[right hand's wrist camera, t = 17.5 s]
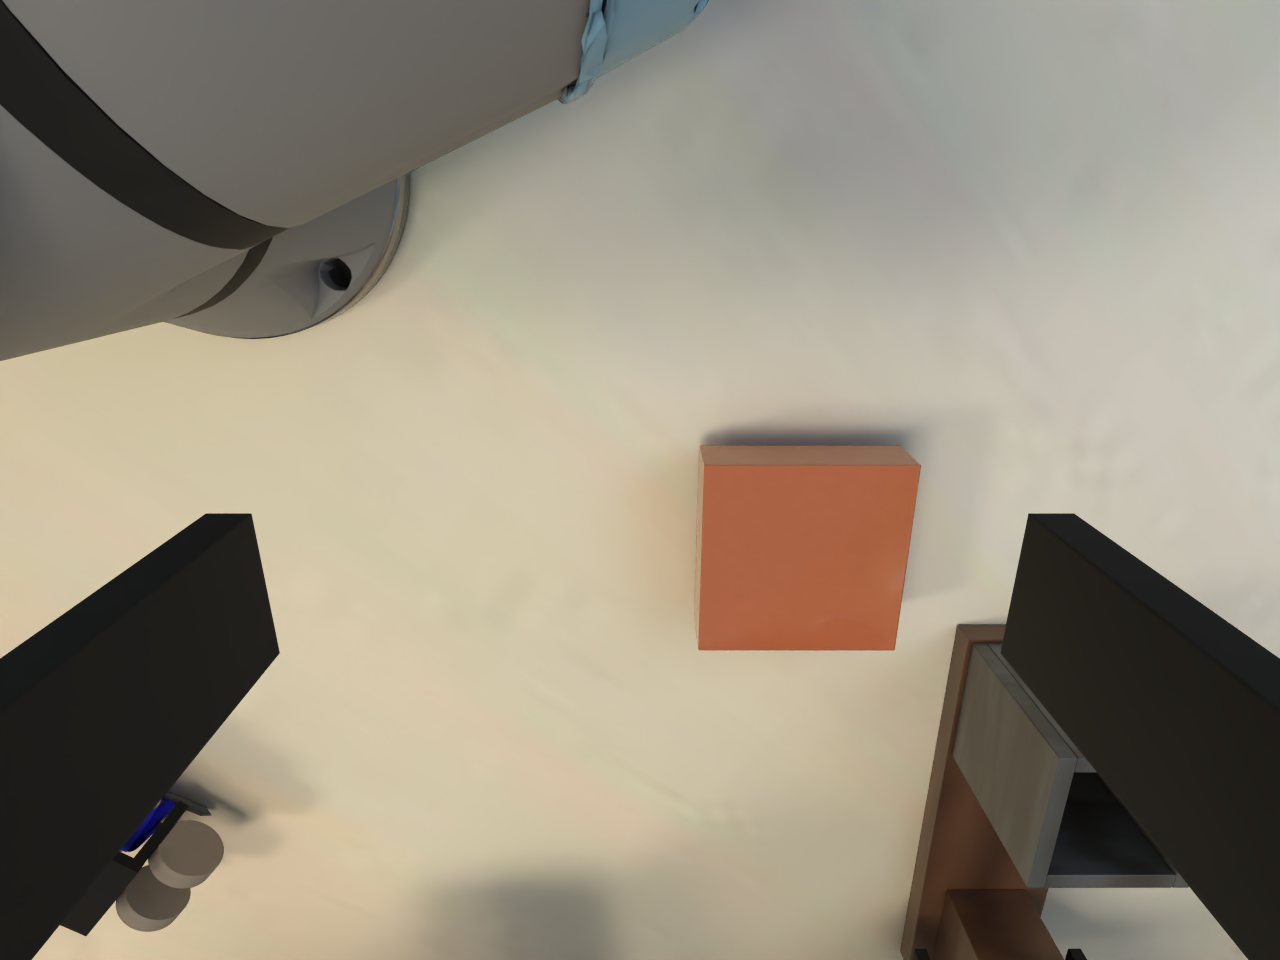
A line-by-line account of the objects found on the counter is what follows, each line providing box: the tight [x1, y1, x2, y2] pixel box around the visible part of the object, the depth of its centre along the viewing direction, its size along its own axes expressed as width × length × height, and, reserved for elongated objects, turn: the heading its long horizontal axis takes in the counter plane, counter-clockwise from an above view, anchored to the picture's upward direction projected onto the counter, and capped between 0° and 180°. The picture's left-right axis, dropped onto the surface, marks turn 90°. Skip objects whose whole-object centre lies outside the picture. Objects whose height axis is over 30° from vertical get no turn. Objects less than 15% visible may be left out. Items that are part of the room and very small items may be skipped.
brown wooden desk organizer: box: [901, 625, 1189, 960], centre depth 40 cm, size 8×26×12 cm, turn 0°
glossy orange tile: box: [694, 446, 921, 650], centre depth 37 cm, size 10×10×4 cm
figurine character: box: [60, 793, 224, 936], centre depth 42 cm, size 7×8×15 cm
